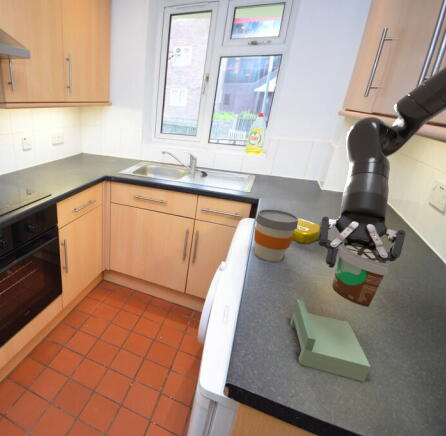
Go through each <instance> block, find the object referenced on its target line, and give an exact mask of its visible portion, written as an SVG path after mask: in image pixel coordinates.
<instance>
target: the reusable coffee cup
mask: <svg viewBox="0 0 446 436" xmlns="http://www.w3.org/2000/svg"><path fill="white" fill-rule="evenodd" d="M298 218H299V217H298V216H296V215H295V214H294V213H291V212H287V211H285V210H278V209H273V208H272V209H271V208H268V209H267V208H266V209H261V210H258V212H257V215H256V217H255V222H256V225H255V227H254V236H253V240H254V255H255V256H256V257H257V258H259V259H261V260H264V261H267V262H273V261H274V262H275V263H276V261H277V262H281V261H282V260H283V259H284V256H285V254H286V252H287V249H289V248H290V246H291V244H292V241H293V240H292V239H293V237H294V231H295V229H297V225H298ZM274 262H273V263H274Z"/></svg>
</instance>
